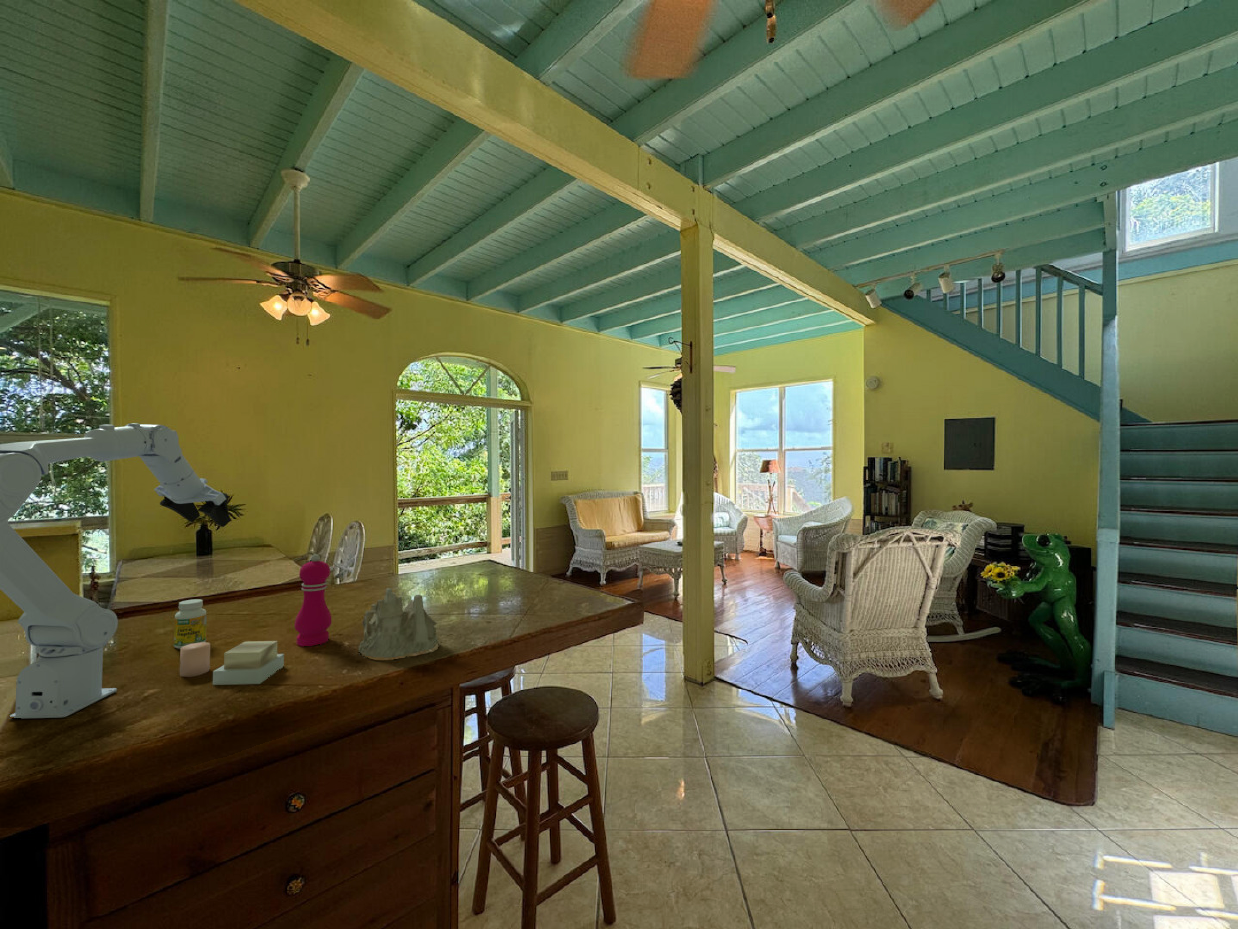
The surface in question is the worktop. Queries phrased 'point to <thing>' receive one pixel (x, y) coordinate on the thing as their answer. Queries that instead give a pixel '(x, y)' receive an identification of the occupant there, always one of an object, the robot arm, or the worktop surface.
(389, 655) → the grey rock mountain model
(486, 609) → the worktop surface
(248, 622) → the worktop surface
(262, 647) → the birch top slab
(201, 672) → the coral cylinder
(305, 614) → the pepper mill
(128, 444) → the robot arm
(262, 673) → the grey base slab
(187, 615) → the supplement bottle
